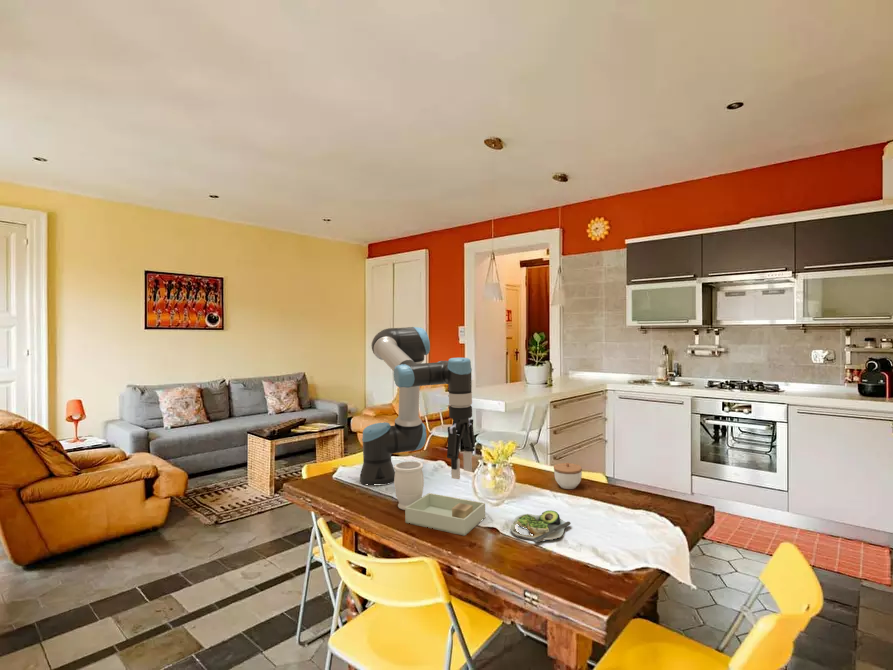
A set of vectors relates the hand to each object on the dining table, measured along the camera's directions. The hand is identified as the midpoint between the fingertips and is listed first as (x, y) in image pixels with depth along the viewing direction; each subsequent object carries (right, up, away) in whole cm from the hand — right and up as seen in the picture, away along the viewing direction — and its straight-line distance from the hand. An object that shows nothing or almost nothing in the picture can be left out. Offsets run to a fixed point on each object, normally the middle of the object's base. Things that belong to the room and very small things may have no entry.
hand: (462, 474), depth 161 cm
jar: (-18, -17, +17) cm, 30 cm away
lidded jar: (+43, -14, +33) cm, 56 cm away
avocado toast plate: (+24, -17, -5) cm, 30 cm away
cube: (0, -16, +1) cm, 16 cm away
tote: (-5, -16, +4) cm, 18 cm away
